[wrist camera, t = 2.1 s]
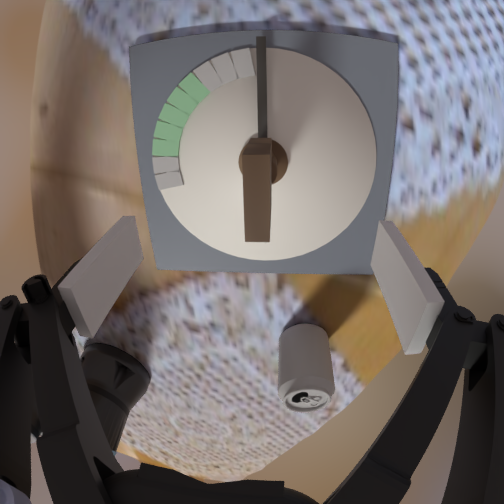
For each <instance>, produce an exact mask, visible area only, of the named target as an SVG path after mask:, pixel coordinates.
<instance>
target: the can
mask: <svg viewBox="0 0 504 504" xmlns="http://www.w3.org/2000/svg"><path fill="white" fill-rule="evenodd" d="M334 391H335V384H334V376H333V369H332V361H331V354H330V347H329V340H328V336H327V333H326V332H325V331H324V330H323V329H322V328H321V327H319V326H317V325H313V324H307V323H306V324H298V325H294V326H292V327H290V328H288V329H286V330H285V331H284V332H283V333H282V334H281V336H280V338H279V368H278V396H279V398H280V399H281V400H282V401H283V405H284V407H285V408H287V409H289V410H290V411H294V412H299V413H309V412H314V411H318V410H320V409H323V408H324V407H326V406H327V405H328V404H329V403H330V401H331V396H332V395H333V394H334Z"/></svg>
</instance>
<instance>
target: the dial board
mask: <svg viewBox="0 0 504 504" xmlns="http://www.w3.org/2000/svg"><path fill="white" fill-rule="evenodd" d="M256 36H266V66H267V138H272V140H274V141H276V142H278V143H279V144H280V145H281V146H282V147H283V148H284V150H285V151H286V154H287V158H288V168H287V171H286V173H285V175H284V176H283V178H282V179H281V180H279V181H278V182H276V183H275V184H272V206H271V228H270V242H245V232H244V203H243V175H242V173H241V171H240V169H239V163H238V161H239V155H240V153H241V151H242V149H243V147H244V146H245V145H246V144H247V143H248V142H249V140H250V138H258V109H257V60H256ZM129 58H130V80H131V95H132V108H133V119H134V129H135V138H136V147H137V155H138V163H139V170H140V177H141V184H142V191H143V197H144V203H145V209H146V215H147V221H148V226H149V231H150V237H151V242H152V247H153V252H154V257H155V261H156V266H157V269H158V270H184V271H213V272H248V273H292V274H373V270H372V267H371V265H370V264H371V260H372V255H373V250H374V245H375V240H376V235H377V229H378V224H379V220H383V221H384V217H385V211H386V205H387V198H388V192H389V185H390V177H391V169H392V161H393V151H394V141H395V129H396V115H397V96H398V43H393V42H388V41H383V40H378V39H372V38H366V37H359V36H352V35H345V34H336V33H326V32H313V31H295V30H247V31H229V32H216V33H206V34H197V35H189V36H182V37H176V38H170V39H164V40H158V41H153V42H148V43H143V44H139V45H134V46H130V47H129Z"/></svg>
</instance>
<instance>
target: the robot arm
mask: <svg viewBox="0 0 504 504" xmlns="http://www.w3.org/2000/svg"><path fill="white" fill-rule="evenodd" d="M143 259H144V258H143V253H142V249H141V244H140V240H139V235H138V230H137V225H136V220H135V216H123V217H122V218H121V219H120V220H119V221H118V222H117V223H116V224H115V225H114V226H113V227H112V228H111V229H110V230H109V231H108V232H107V233H106V234H105V235H104V236H103V237H102V238H101V239H100V240H99V241H98V242H97V243H96V244H95V245H94V246H93V247H92V249H91V250H90V251H89V252H88V253H87V254H86V255H85V256H84V257H83V258H81V259H80V260H78V261H77V262H75V263H74V264H73V265H72V266H71V267H70V268H69V269H68V271H67V272H66V273H65V274H64V276H62V277H61V278H60V280H59V281H58V282H57V283H56V284H55V285H54V287H53V288H52V289H51V287H50V285H49V282H48V280H47V278H46V276H45V275H35V276H33V277H31V278H29V279H28V280H27V281H25V283H24V284H23V285H22V291H23V293H24V295H25V297H26V299H27V301H28V303H23V304H20V302H19V300H18V298H17V296H14V295H10V296H7V297H5V298H3V299H2V300H1V301H0V504H31V501H30V493H31V443H35V442H36V443H37V449H38V453H39V457H40V461H41V465H42V469H43V472H44V476H45V479H46V482H47V486H48V489H49V492H50V495H51V498H52V501H53V503H54V504H319V503H318V502H316V501H315V500H313V499H312V498H310V497H309V496H307V495H305V494H303V493H301V492H298V491H296V490H293V489H289V488H285V487H284V481H264V480H241V481H233V482H225V483H216V484H207V483H204V482H201V481H199V480H196V479H194V478H191V477H189V476H187V475H184V474H182V473H180V472H177V471H175V470H172V469H167V468H163V467H158V466H154V465H150V464H145V463H141V465H140V469H136V470H127V471H124V470H123V469H122V467H121V466H120V464H119V463H118V462H117V460H116V459H115V455H116V451H117V448H118V444H119V441H120V438H121V435H122V432H123V429H124V426H125V424H126V421H127V418H128V415H129V412H130V410H131V409H132V408H133V407H134V405H135V404H136V403H137V402H138V401H139V400H140V399H141V397H142V396H143V395H144V394H145V393H146V391H147V388H148V386H149V383H150V378H149V375H148V373H147V371H146V370H145V368H144V367H143V366H142V365H141V364H140V363H139V362H138V361H137V360H136V359H134V358H133V357H132V356H130V355H128V354H127V353H125V352H123V351H121V350H119V349H117V348H115V347H112V346H109V345H105V344H91V345H88V346H87V347H86V348H85V350H84V352H83V353H82V355H81V358H79V354H78V350H77V346H76V342H75V338H74V336H73V334H72V330H73V329H74V327H76V329H77V331H78V333H79V335H80V336H84V337H89V338H94V336H95V334H96V333H97V331H98V329H99V328H100V326H101V324H102V323H103V321H104V319H105V318H106V316H107V314H108V313H109V311H110V309H111V308H112V306H113V305H114V303H115V301H116V300H117V298H118V297H119V295H120V294H121V292H122V290H123V289H124V287H125V286H126V284H127V283H128V281H129V280H130V278H131V277H132V275H133V273H134V272H135V270H136V269H137V267H138V266H139V264H140V263H141V262H142V260H143ZM370 265H371V267H372V270H373V272H374V274H375V277H376V279H377V281H378V284H379V286H380V289H381V291H382V294H383V296H384V299H385V301H386V304H387V306H388V309H389V312H390V314H391V317H392V320H393V322H394V325H395V328H396V331H397V333H398V336H399V339H400V342H401V345H402V348H403V351H404V353H405V355H407V354H418V353H421V351H422V350H423V348H424V346H425V344H427V347H428V349H429V351H428V353H427V355H426V357H425V359H424V361H423V362H422V364H421V366H420V368H419V370H418V372H417V374H416V376H415V378H414V379H413V381H412V383H411V385H410V386H409V388H408V390H407V392H406V393H405V395H404V397H403V398H402V400H401V402H400V403H399V405H398V407H397V408H396V410H395V411H394V413H393V415H392V416H391V418H390V419H389V421H388V422H387V424H386V425H385V427H384V428H383V430H382V431H381V432H380V434H379V435H378V437H377V438H376V440H375V441H374V443H373V444H372V445H371V447H370V448H369V449H368V451H367V452H366V453H365V455H364V456H363V457H362V459H361V460H360V461H359V463H358V464H357V465H356V466H355V467H354V469H353V470H352V471H351V472H350V474H349V475H348V476H347V477H346V479H345V480H344V481H343V482H342V483H341V484H340V485H339V487H338V488H337V489H336V490H335V491H334V492H333V493H332V494H331V495H330V496H329V497H328V498H327V499H326V501H325V502H324V503H323V504H399V503H400V501H401V500H402V498H403V497H404V495H405V494H406V492H407V490H408V489H409V487H410V484H411V480H410V478H411V476H412V474H413V472H414V471H415V469H416V467H417V466H418V464H419V462H420V460H421V459H422V457H423V455H424V453H425V451H426V449H427V447H428V446H429V444H430V442H431V440H432V438H433V436H434V434H435V432H436V430H437V428H438V426H439V424H440V422H441V419H442V417H443V415H444V413H445V410H446V408H447V406H448V404H449V401H450V399H451V396H452V394H453V392H454V389H455V386H456V384H457V381H458V379H459V376H460V373H461V370H462V368H465V373H464V388H463V398H462V408H461V416H460V423H459V430H458V436H457V442H456V447H455V452H454V457H453V462H452V466H451V470H450V474H449V479H448V483H447V486H446V490H445V493H444V497H443V500H442V503H441V504H504V316H503V315H501V314H495V315H493V316H492V317H491V319H490V321H489V323H487V322H482V321H477V320H476V318H475V316H474V314H473V313H472V312H471V311H470V310H468V309H466V308H465V307H462V306H458V305H457V304H456V302H455V300H454V299H453V297H452V296H451V294H450V292H449V291H448V289H447V288H446V286H445V284H444V283H442V280H441V278H440V277H439V275H438V274H437V273H436V272H435V271H433V270H432V269H431V268H424V267H423V265H422V264H421V262H420V261H419V259H418V258H417V256H416V255H415V253H414V252H413V250H412V249H411V247H410V246H409V244H408V243H407V241H406V240H405V238H404V237H403V236H402V234H401V233H400V231H399V230H398V228H397V227H396V226H395V224H394V223H393V222H392V221H383V220H379V224H378V229H377V235H376V240H375V245H374V250H373V255H372V260H371V264H370ZM14 341H15V342H14ZM39 435H41V437H39Z"/></svg>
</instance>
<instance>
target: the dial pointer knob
mask: <svg viewBox="0 0 504 504" xmlns="http://www.w3.org/2000/svg"><path fill="white" fill-rule="evenodd" d="M256 60H257V109H258V138H250V140H249V142H248V143H247V144H246V145H245V146H244V147H243V149H242V151H241V153H240V155H239V161H238V163H239V169H240V171H241V173H242V175H243V203H244V232H245V242H270V228H271V206H272V184H275V183H276V182H278V181H279V180H281V179H282V178H283V176H284V175H285V173H286V171H287V168H288V158H287V154H286V151H285V150H284V148H283V147H282V146H281V145H280V144H279V143H278V142H276V141H274V140H272V138H267V66H266V36H256Z"/></svg>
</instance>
